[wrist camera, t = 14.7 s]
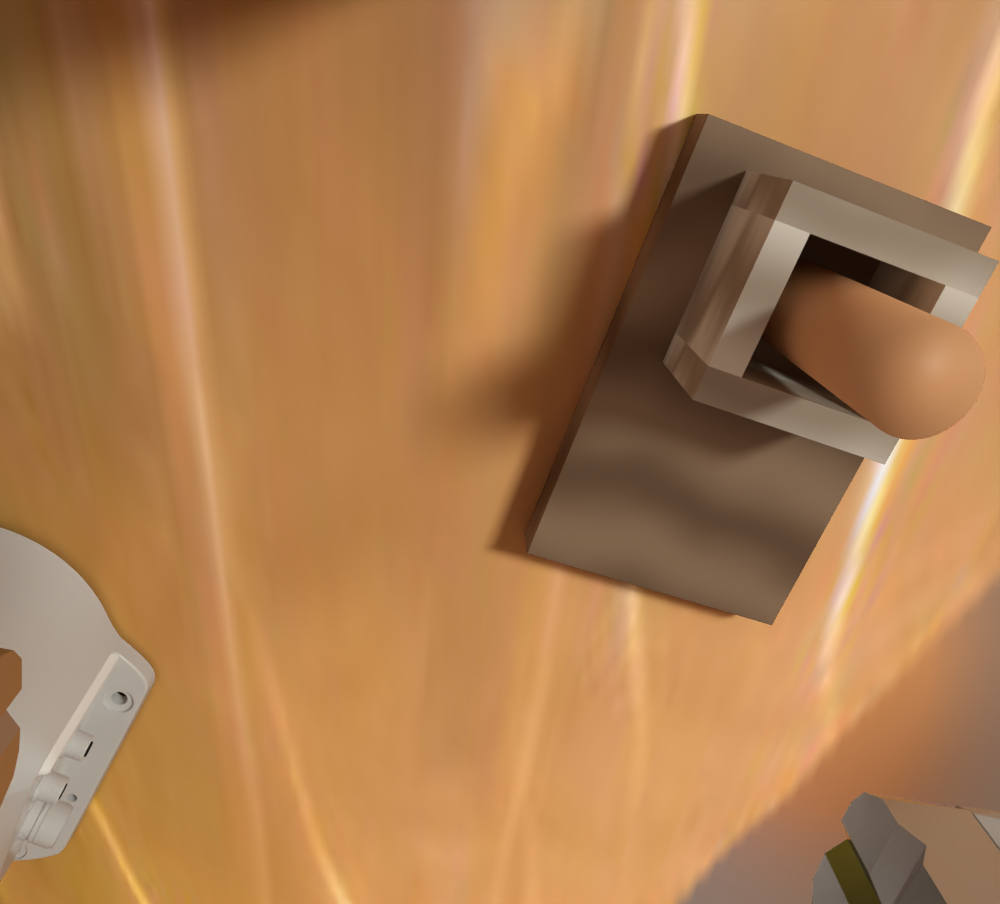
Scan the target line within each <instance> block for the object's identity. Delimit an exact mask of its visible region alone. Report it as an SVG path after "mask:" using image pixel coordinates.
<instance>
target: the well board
mask: <svg viewBox="0 0 1000 904" xmlns="http://www.w3.org/2000/svg"><path fill="white" fill-rule="evenodd" d="M990 229H991V227H990V226H987V225H985V224H982V223H980V222H977V221H975V220H972V219H970V218H967V217H965V216H962V215H960V214H957V213H955V212H952V211H950V210H947V209H945V208H942V207H940V206H937V205H935V204H932V203H930V202H927V201H925V200H922V199H920V198H917V197H915V196H912V195H910V194H907V193H905V192H902V191H900V190H897V189H895V188H892V187H890V186H887V185H885V184H882V183H880V182H877V181H875V180H872V179H870V178H867V177H865V176H862V175H860V174H857V173H855V172H852V171H850V170H847V169H845V168H842V167H840V166H837V165H835V164H832V163H830V162H827V161H825V160H822V159H820V158H817V157H815V156H812V155H810V154H807V153H805V152H802V151H800V150H797V149H795V148H792V147H790V146H787V145H785V144H782V143H780V142H777V141H775V140H772V139H770V138H767V137H765V136H762V135H760V134H757V133H755V132H752V131H750V130H747V129H745V128H742V127H740V126H737V125H735V124H732V123H730V122H727V121H725V120H722V119H720V118H717V117H715V116H712V115H710V114H696V116H695V118H694V121H693V123H692V126H691V128H690V131H689V133H688V136H687V138H686V141H685V143H684V145H683V148H682V150H681V153H680V155H679V158H678V160H677V163H676V165H675V168H674V170H673V172H672V175H671V177H670V180H669V182H668V185H667V187H666V190H665V192H664V194H663V197H662V199H661V202H660V204H659V207H658V209H657V212H656V214H655V217H654V219H653V221H652V224H651V226H650V229H649V231H648V234H647V236H646V239H645V241H644V243H643V246H642V248H641V251H640V253H639V256H638V258H637V261H636V263H635V266H634V268H633V270H632V273H631V275H630V278H629V280H628V283H627V285H626V288H625V290H624V293H623V295H622V297H621V300H620V302H619V305H618V307H617V310H616V312H615V315H614V317H613V319H612V322H611V324H610V327H609V329H608V332H607V334H606V337H605V339H604V342H603V344H602V346H601V349H600V351H599V354H598V356H597V359H596V361H595V364H594V366H593V368H592V371H591V373H590V376H589V378H588V381H587V383H586V386H585V388H584V391H583V393H582V395H581V398H580V400H579V403H578V405H577V408H576V410H575V413H574V415H573V417H572V420H571V422H570V425H569V427H568V430H567V432H566V435H565V437H564V440H563V442H562V444H561V447H560V449H559V452H558V454H557V457H556V459H555V462H554V464H553V467H552V469H551V471H550V474H549V476H548V479H547V481H546V484H545V486H544V489H543V491H542V493H541V496H540V498H539V501H538V503H537V506H536V508H535V511H534V513H533V516H532V518H531V520H530V523H529V525H528V528H527V530H526V533H525V541H526V548H527V553H528V554H531V555H535V556H538V557H542V558H545V559H548V560H552V561H555V562H559V563H562V564H565V565H569V566H572V567H576V568H579V569H582V570H586V571H589V572H593V573H596V574H599V575H603V576H606V577H610V578H613V579H616V580H620V581H623V582H627V583H630V584H633V585H637V586H640V587H644V588H647V589H650V590H654V591H657V592H661V593H664V594H667V595H671V596H674V597H678V598H681V599H684V600H688V601H691V602H695V603H698V604H701V605H705V606H708V607H712V608H715V609H718V610H722V611H725V612H729V613H732V614H735V615H739V616H742V617H746V618H749V619H752V620H756V621H759V622H763V623H766V624H769V625H772V624H773V622H774V620H775V619H776V617H777V615H778V613H779V611H780V609H781V608H782V606H783V604H784V602H785V600H786V599H787V597H788V595H789V593H790V591H791V590H792V588H793V586H794V584H795V582H796V581H797V579H798V577H799V575H800V573H801V571H802V570H803V568H804V566H805V564H806V562H807V561H808V559H809V557H810V555H811V553H812V552H813V550H814V548H815V546H816V544H817V542H818V541H819V539H820V537H821V535H822V533H823V532H824V530H825V528H826V526H827V524H828V523H829V521H830V519H831V517H832V515H833V513H834V512H835V510H836V508H837V506H838V504H839V503H840V501H841V499H842V497H843V495H844V494H845V492H846V490H847V488H848V486H849V484H850V483H851V481H852V479H853V477H854V475H855V474H856V472H857V470H858V468H859V466H860V465H861V463H862V461H863V459H864V458H867V459H870V460H873V461H876V462H879V463H882V464H885V463H886V461H887V459H888V458H889V456H890V454H891V452H892V451H893V449H894V447H895V445H896V443H897V442H898V440H899V438H896V437H893V436H890V435H888V434H886V433H884V432H883V431H881V430H880V429H878V428H877V427H876V426H874V425H873V424H872V423H871V422H869V421H868V420H867V419H865V418H864V417H863V416H861V415H860V414H859V413H858V412H856V411H855V410H854V409H852V408H851V407H850V406H848V405H847V404H846V403H844V402H843V401H842V400H841V399H839V398H838V397H837V396H835V395H834V394H833V393H831V392H830V391H829V390H828V389H826V388H825V387H824V386H822V385H821V384H820V383H818V382H817V381H816V380H815V379H813V378H812V377H811V376H809V375H808V374H807V373H805V372H804V371H803V370H801V369H800V368H799V367H798V366H796V365H795V364H794V363H792V362H791V361H790V360H788V359H787V358H786V357H785V356H783V355H782V354H781V353H779V352H778V351H777V350H775V349H774V348H773V347H771V346H770V345H769V344H768V343H766V342H765V341H764V340H762V339H761V336H762V334H763V332H764V329H765V327H766V325H767V323H768V321H769V319H770V317H771V315H772V313H773V311H774V308H775V306H776V304H777V302H778V300H779V298H780V296H781V294H782V292H783V290H784V287H785V285H786V283H787V281H788V279H789V277H790V275H791V273H792V271H793V269H794V266H795V264H796V262H797V260H798V259H802V260H807V261H810V262H813V263H815V264H817V265H819V266H822V267H824V268H826V269H829V270H831V271H833V272H835V273H838V274H840V275H842V276H845V277H847V278H849V279H851V280H854V281H856V282H858V283H861V284H863V285H865V286H868V287H870V288H872V289H874V290H877V291H879V292H881V293H884V294H886V295H888V296H890V297H893V298H895V299H897V300H900V301H902V302H904V303H906V304H909V305H911V306H913V307H916V308H918V309H920V310H922V311H925V312H927V313H929V314H932V315H934V316H936V317H938V318H941V319H943V320H945V321H948V322H950V323H952V324H955V325H957V326H959V327H961V328H962V326H963V325H964V323H965V321H966V319H967V317H968V316H969V314H970V312H971V310H972V309H973V307H974V305H975V303H976V301H977V300H978V298H979V296H980V294H981V293H982V291H983V289H984V287H985V286H986V284H987V282H988V280H989V278H990V277H991V275H992V273H993V271H994V270H995V268H996V266H997V264H998V262H999V261H997V260H994V259H992V258H989V257H987V256H984V255H982V254H979V253H978V251H979V249H980V247H981V245H982V244H983V242H984V240H985V238H986V236H987V235H988V233H989V231H990Z"/></svg>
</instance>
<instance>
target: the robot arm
mask: <svg viewBox="0 0 1000 904" xmlns="http://www.w3.org/2000/svg"><path fill="white" fill-rule="evenodd" d="M154 681H155V673H154V670H153V668H152V667H151V665H150V664H149V663H148V662H147V661H146V659H145V658H144V657H142V656H141V655H140V654H139V653H138V652H137V651H136V650H135V649H134V648H133V647H131V646H130V645H129V644H128V643H127V642H126V641H124V640H123V639H122V638H121V637H120V636H119V635H118V633H117V632H116V630H115V629H114V627H113V625H112V624H111V622H110V620H109V618H108V616H107V614H106V612H105V610H104V608H103V606H102V604H101V603H100V601H99V599H98V598H97V596H96V595H95V593H94V592H93V591H92V589H91V588H90V587H89V585H88V584H87V583H86V582H85V581H84V580H83V578H82V577H81V576H80V575H79V574H78V573H77V572H76V571H75V570H74V569H73V568H71V567H70V566H69V565H68V564H67V563H66V562H64V561H63V560H62V559H61V558H59V557H58V556H57V555H55V554H54V553H52V552H51V551H49V550H48V549H46V548H45V547H43V546H41V545H40V544H38V543H36V542H34V541H32V540H30V539H28V538H26V537H24V536H22V535H19V534H17V533H15V532H12V531H9V530H6V529H4V528H0V881H1V879H2V878H3V876H4V875H5V873H6V871H7V870H8V868H9V867H10V865H11V863H12V862H13V860H29V859H38V858H43V857H48V856H52V855H56V854H58V853H60V852H61V851H62V850H63V849H64V848H65V846H66V845H67V843H68V842H69V840H70V839H71V837H72V836H73V834H74V832H75V831H76V829H77V827H78V825H79V823H80V821H81V820H82V818H83V816H84V814H85V812H86V810H87V808H88V806H89V805H90V803H91V801H92V799H93V797H94V795H95V793H96V791H97V790H98V788H99V786H100V784H101V782H102V780H103V778H104V776H105V775H106V773H107V771H108V769H109V767H110V765H111V763H112V761H113V759H114V758H115V756H116V754H117V752H118V750H119V748H120V746H121V744H122V743H123V741H124V739H125V737H126V735H127V733H128V731H129V729H130V728H131V726H132V724H133V722H134V720H135V718H136V716H137V714H138V712H139V711H140V709H141V707H142V705H143V703H144V701H145V699H146V697H147V696H148V694H149V692H150V690H151V688H152V686H153V684H154ZM118 692H122V693H124V694H125V695H126V696H122V695H120V694H119V693H118ZM842 824H843V828H844V831H845V834H846V837H847V839H846V840H845V841H843V842H842V843H840V844H839V845H837V846H836V847H834V848H832V849H831V850H829V851H828V852H826V853H825V854H824V856H823V859H822V861H821V863H820V865H819V867H818V870H817V872H816V874H815V876H814V879H813V896H812V904H1000V812H998V811H990V810H984V809H977V808H970V807H963V806H955V807H952V806H948V805H942V804H935V803H929V802H923V801H917V800H910V799H904V798H897V797H892V796H885V795H878V794H873V793H866V792H864V793H863V794H861V795H860V796H859V797H858V798H856V799H855V800H854V801H852V802H851V804H850V806H849V807H848V810H847V811H846V813H845V815H844V817H843V819H842Z"/></svg>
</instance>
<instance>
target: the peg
mask: <svg viewBox="0 0 1000 904" xmlns="http://www.w3.org/2000/svg"><path fill="white" fill-rule="evenodd" d="M761 339H762V340H764V341H765V342H766V343H768V344H769V345H770V346H771V347H773V348H774V349H775V350H777V351H778V352H779V353H781V354H782V355H783V356H785V357H786V358H787V359H788V360H790V361H791V362H792V363H794V364H795V365H796V366H798V367H799V368H800V369H801V370H803V371H804V372H805V373H807V374H808V375H809V376H811V377H812V378H813V379H815V380H816V381H817V382H818V383H820V384H821V385H822V386H824V387H825V388H826V389H828V390H829V391H830V392H831V393H833V394H834V395H835V396H837V397H838V398H839V399H841V400H842V401H843V402H844V403H846V404H847V405H848V406H850V407H851V408H852V409H854V410H855V411H856V412H858V413H859V414H860V415H861V416H863V417H864V418H865V419H867V420H868V421H869V422H871V423H872V424H873V425H874V426H876V427H877V428H878V429H880V430H881V431H883V432H884V433H886V434H888V435H890V436H893V437H896V438H900V439H908V440H914V439H923V438H927V437H931V436H934V435H937V434H939V433H941V432H943V431H945V430H947V429H949V428H950V427H952V426H953V425H955V424H956V423H957V422H958V421H960V420H961V419H962V418H963V417H964V416H965V415H966V414H967V413H968V411H969V410H970V409H971V408H972V406H973V405H974V403H975V402H976V400H977V398H978V396H979V394H980V392H981V389H982V386H983V382H984V378H985V360H984V355H983V352H982V349H981V347H980V346H979V344H978V342H977V341H976V339H975V338H974V337H973V336H972V335H971V334H970V333H969V332H968V331H966V330H964V329H963V328H961V327H959V326H957V325H955V324H952V323H950V322H948V321H945V320H943V319H941V318H938V317H936V316H934V315H932V314H929V313H927V312H925V311H922V310H920V309H918V308H916V307H913V306H911V305H909V304H906V303H904V302H902V301H900V300H897V299H895V298H893V297H890V296H888V295H886V294H884V293H881V292H879V291H877V290H874V289H872V288H870V287H868V286H865V285H863V284H861V283H858V282H856V281H854V280H851V279H849V278H847V277H845V276H842V275H840V274H838V273H835V272H833V271H831V270H829V269H826V268H824V267H822V266H819V265H817V264H815V263H813V262H810V261H807V260H802V259H798V260H797V262H796V264H795V266H794V269H793V271H792V273H791V275H790V277H789V279H788V281H787V283H786V285H785V287H784V290H783V292H782V294H781V296H780V298H779V300H778V302H777V304H776V306H775V308H774V311H773V313H772V315H771V317H770V319H769V321H768V323H767V325H766V327H765V329H764V332H763V334H762V336H761Z"/></svg>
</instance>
